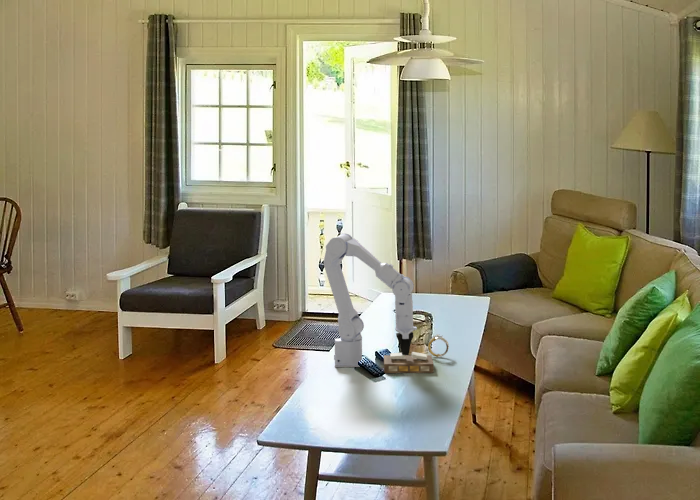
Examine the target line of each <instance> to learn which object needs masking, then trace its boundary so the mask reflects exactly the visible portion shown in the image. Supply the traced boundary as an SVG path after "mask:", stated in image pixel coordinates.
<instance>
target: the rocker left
mask: <svg viewBox="0 0 700 500" xmlns="http://www.w3.org/2000/svg"><path fill="white" fill-rule="evenodd" d="M389 355H390V357H391V359H405V355H402V352H391V353H390V354H389Z"/></svg>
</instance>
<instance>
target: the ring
mask: <svg viewBox="0 0 700 500" xmlns="http://www.w3.org/2000/svg"><path fill="white" fill-rule="evenodd" d="M437 340H438V341H439V340H441V341H442V342H444V343H445V345H446V348H445V351H444V353H437V354H436V353H435V352H433V351H432V347H431V346H432V343H434V342H435V341H437ZM427 345H428V346H427V347H428V348H427V349H428V351H429V353H430V355H431V356H432V357H436V358H442V357H444V356H446V354H447V353H448V351H449V348H450V346H449V342H448V341H447V339H445V337H443V335H440V334H436V335H432V338H430V340H429V341H428V344H427Z"/></svg>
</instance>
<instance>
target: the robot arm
mask: <svg viewBox="0 0 700 500" xmlns="http://www.w3.org/2000/svg"><path fill="white" fill-rule="evenodd" d="M345 257H356V258H357V259H358V260H360V261H361V262H362V263H364V264H365V265H367V266H368V267H369V268H371V269H372V270H373V271H374V272H375V277H376V278H377V279H378V280H380V281H381V282H382V283H384V284H385V285H386V286H387V287H388V288H390V289H391V290H392V294H393V295H394V297H395V299H394V301H395V302H394V304H395V305H394V307H395V308H394V311H395V328H394V329H395V330H394V331H395V332H396V333H395V334H396V336H395V337H396V339H397V341H398V343H399V346H400V351H401V352H400V353H402V355H409V354H410V349H411V343H412V341H413V339H414V331H417V329H418V327H417V326H414V309H413V307H414V306H413V303H414V302H413V293H412V292H413V291H414V287H415V286H414V285H415V284H414V282H413V280H412V279H411V278H410V277H409V276H405V275H404V274H403V273H402V274H401V273H400V272H398V271H397V269H395V268H394V265H393V264H392V263H390V264H389V263H388V262H381V261H380V260H379V259H378V258H377V257H376V256H374V254H372V252H370V251H369V250H367V248H365V247H364V246H363V245H362V244H361V243H360V242H359V241H358V240H357V239H356V238H355V237H354V238H353V236H351V234H348V233H341V234H339V235H338V236H337V235H336V236H334V237H332V238H331V239H329V241H328V242H327V244H326V245H325V253H324V257H323V258H324V259H323V267H324V270H325V274H326V276H327V280H328V283H329V286H330V287H329V288H330V289H331V293H332V296H333V299H334V303H335V305H336V308H337V312H338V316H337V322H338V330H337V331H338V334H339V336H340V337H339V338H334V355H333V360H334V367H336V368H344V367H345V368H355V367H356V368H361V367H360V366H359V365H358V362H359V361H361V360H362V359H363V336H362V332H363V331H364V327H365V325H364V321H363V320H362V318H361V317H360V315H359V313H358V311H357V310H356V309H355V308H354V306H353V303H352V299H351V296H350V293H349V289H348V285H347V283H346V280H345V276H344V273H343V269H342V267H341V263H342V261H343V260H344V258H345Z"/></svg>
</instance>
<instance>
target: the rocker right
mask: <svg viewBox="0 0 700 500" xmlns="http://www.w3.org/2000/svg"><path fill="white" fill-rule="evenodd" d="M411 355H412V358H417V359H423V360H426V359H427V355H428V354H427V353H421V352H416V351H411Z"/></svg>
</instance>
